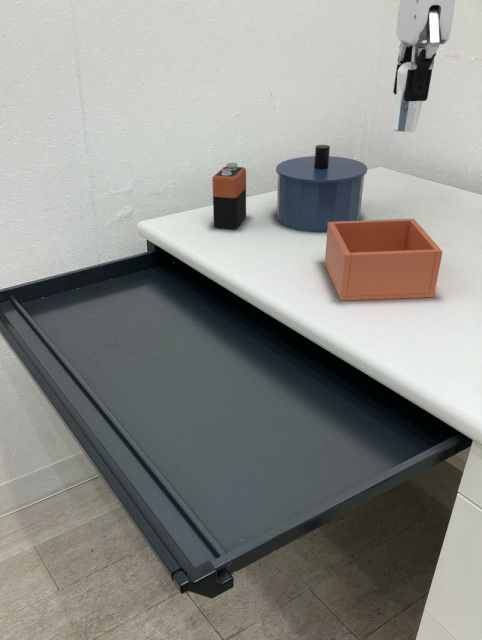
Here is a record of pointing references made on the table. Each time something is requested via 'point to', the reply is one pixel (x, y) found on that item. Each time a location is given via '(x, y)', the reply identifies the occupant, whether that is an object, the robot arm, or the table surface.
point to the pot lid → (321, 168)
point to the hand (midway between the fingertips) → (409, 95)
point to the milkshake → (405, 104)
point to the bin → (381, 259)
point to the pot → (318, 203)
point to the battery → (229, 196)
